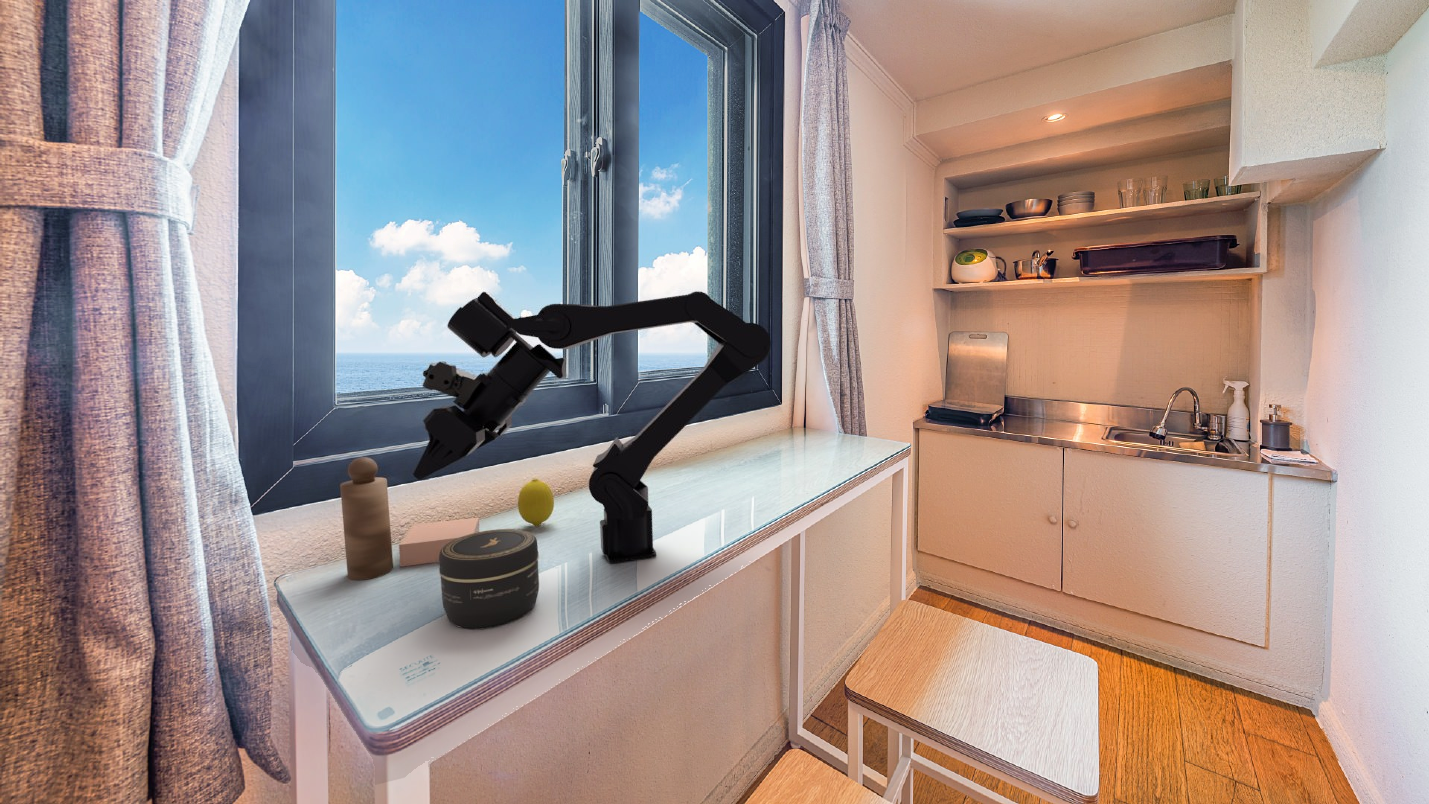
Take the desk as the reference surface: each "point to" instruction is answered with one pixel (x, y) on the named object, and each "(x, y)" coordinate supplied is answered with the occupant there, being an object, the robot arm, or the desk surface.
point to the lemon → (535, 502)
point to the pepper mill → (366, 521)
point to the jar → (489, 577)
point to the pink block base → (433, 539)
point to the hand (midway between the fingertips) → (430, 469)
